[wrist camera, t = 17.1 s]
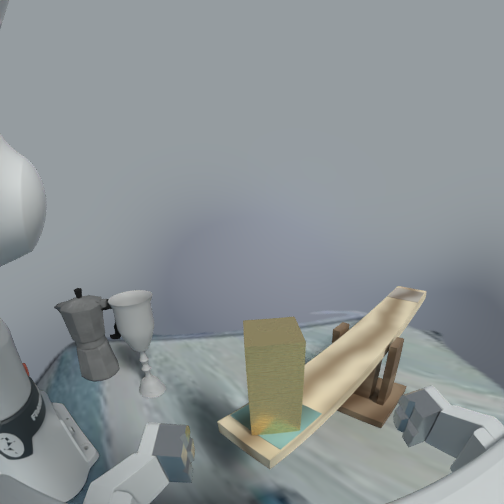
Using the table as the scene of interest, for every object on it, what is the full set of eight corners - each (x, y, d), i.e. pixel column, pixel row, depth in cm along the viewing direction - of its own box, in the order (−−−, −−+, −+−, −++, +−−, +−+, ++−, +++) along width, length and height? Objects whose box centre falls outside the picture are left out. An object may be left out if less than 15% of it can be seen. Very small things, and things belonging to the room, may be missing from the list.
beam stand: (306, 396, 41) (310, 335, 39) (338, 368, 48) (344, 312, 45) (381, 428, 31) (400, 364, 29) (404, 391, 38) (420, 331, 35)
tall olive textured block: (251, 435, 21) (244, 347, 19) (249, 405, 26) (243, 320, 23) (299, 430, 21) (305, 341, 19) (292, 401, 26) (294, 316, 24)
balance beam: (219, 431, 24) (217, 421, 23) (397, 292, 56) (397, 285, 56) (269, 469, 19) (269, 459, 18) (425, 298, 51) (426, 290, 51)
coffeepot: (67, 380, 42) (39, 298, 39) (81, 357, 52) (60, 282, 48) (134, 383, 45) (110, 295, 41) (142, 357, 54) (125, 278, 50)
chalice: (135, 404, 39) (107, 309, 35) (131, 382, 45) (108, 294, 41) (175, 396, 42) (155, 301, 38) (167, 375, 48) (149, 287, 44)
